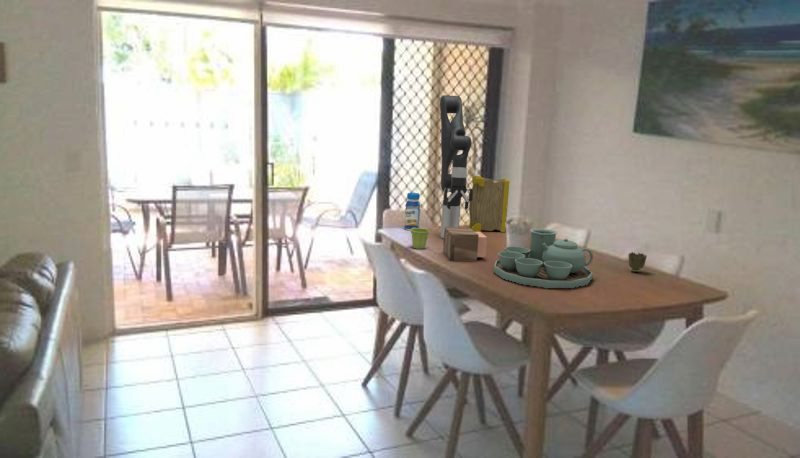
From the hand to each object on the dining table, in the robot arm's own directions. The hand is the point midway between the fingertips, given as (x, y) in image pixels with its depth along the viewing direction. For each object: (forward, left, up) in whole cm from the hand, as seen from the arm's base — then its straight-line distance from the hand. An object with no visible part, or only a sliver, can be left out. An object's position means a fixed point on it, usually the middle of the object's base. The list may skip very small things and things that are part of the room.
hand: (457, 209), depth 306 cm
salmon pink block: (+28, +2, -16) cm, 32 cm away
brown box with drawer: (+28, -4, -17) cm, 33 cm away
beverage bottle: (-33, -17, -18) cm, 41 cm away
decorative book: (-35, +26, -18) cm, 46 cm away
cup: (+52, +69, -18) cm, 88 cm away
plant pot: (+11, -20, -18) cm, 29 cm away
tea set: (+59, +24, -18) cm, 66 cm away
